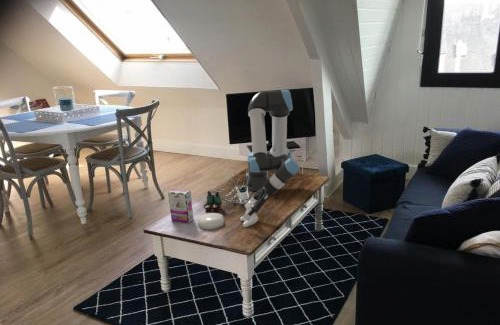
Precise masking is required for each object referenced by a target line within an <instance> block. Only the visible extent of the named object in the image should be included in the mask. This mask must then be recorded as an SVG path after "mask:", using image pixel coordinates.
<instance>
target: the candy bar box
mask: <svg viewBox="0 0 500 325" xmlns="http://www.w3.org/2000/svg"><path fill="white" fill-rule="evenodd" d="M191 193H192V192H191V191H190V190H183V189H171V190H170V191H168V193H167V194H168V202H169V210H170V219H171V222H177V223H178V222H179V223H185V224H190V223H191V222H192V221H194V214H193V213H194V212H193V211H194V210H193V203H192V194H191Z"/></svg>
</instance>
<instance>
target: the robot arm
mask: <svg viewBox="0 0 500 325" xmlns="http://www.w3.org/2000/svg"><path fill="white" fill-rule="evenodd" d="M293 109H294V108H293V100H292V95H291V91H290V90H288V89H277V90H276V89H275V90H260V91H259V92H257V93H256V94H254V95H253V97H251V99H250V101H249V104H248V108H247V114H248V117H249V119H250V133H251V135H250V136H251V147H252V148H251V149H252V151H251V152H248V154H247V167H248V170H247V172H248V177H247V181H246V184H245V185H246V186H245V187H247V186H248V189H249V191H252V192H255V193H254V194H253V196H252V197H251V198H250V200H249V201H251V200H252V202H253V203H254V204H255V205H254V206H253V207H251V209H250V210H249V211H248V212H247V213H246V212H245V214H244V215H242V216H243V218H244V219H245V220H248V219H249V218H250V217H251V216H252V215H253V214H254V213H255V214H256V213H258V212H259V211H260V210H261V208H262V207H263V205H264V204H265V203H266V202H267V201H268V199H270V196H269V195H270V194H271V195H273V196H274V195H275V194H277V193H278V191H279V190H280V189H282V188H283V187H285V186H286V185H285V184H286V183H287V182H289V181H290V179H292V177H293V176H295V175H296V174H297V173H298V172H299V170H301V166H300V165H299V163H298V162H297V161H296V160H295V159H294V158H292V153H291V151H289V148H288V146H287V144H288V143H287V142H288V141H287V136H288V134H287V133H288V127H287V126H288V116H289V115H290V112H291V111H293ZM266 113H269V115H270V117H271V126H272V127H271V129H272V130H271V142H272V147H271V148H270V150H269V151H268V150H267V136H266V124H265V123H266V122H265V116H266ZM268 172H274V173H273V174H272V175H271V176H270V177H269V175H268ZM248 189H247V190H248ZM247 204H248V202H246V204H244V207H245V208H246V206H247Z"/></svg>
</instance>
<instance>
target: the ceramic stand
mask: <svg viewBox="0 0 500 325" xmlns="http://www.w3.org/2000/svg"><path fill="white" fill-rule="evenodd" d="M224 224H225V220H224V215H223V214H222V213H219V212H217V213H214V212H206V213H204V214H202V215H200V216H199V217H198V219H197V227H198V228H200V229H202V230H215V229H218V228H221V227H223V226H224Z"/></svg>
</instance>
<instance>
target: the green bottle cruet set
mask: <svg viewBox="0 0 500 325" xmlns="http://www.w3.org/2000/svg"><path fill="white" fill-rule="evenodd" d="M219 193H220V192H219V191H216V192H215V193H214V194H212V191H210V190H208V191H207V195H206V202H205V204H204V205H203V209H204V210H205V212H206V213H219V212H220V210H221V209H222V203H223V202H222V199H221V195H220V194H219ZM214 206H216V207H214ZM212 211H213V212H212Z"/></svg>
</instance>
